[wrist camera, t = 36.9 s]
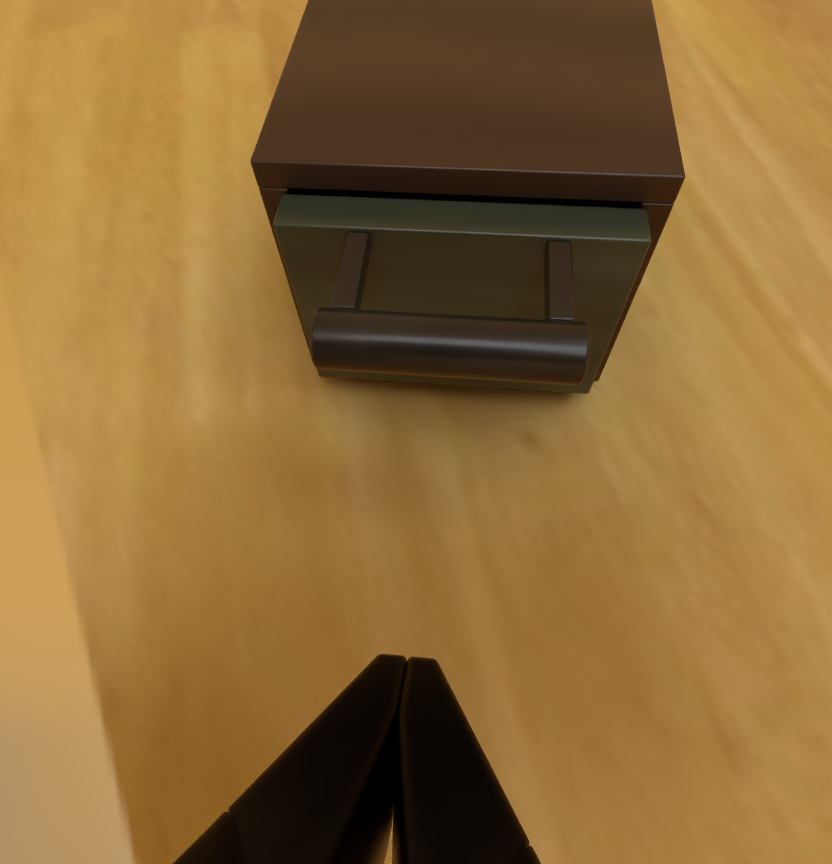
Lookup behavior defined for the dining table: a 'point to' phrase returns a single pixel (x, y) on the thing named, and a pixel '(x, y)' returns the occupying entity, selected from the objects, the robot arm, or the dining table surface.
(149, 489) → the dining table surface
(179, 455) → the dining table surface
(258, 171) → the cabinet
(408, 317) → the drawer
